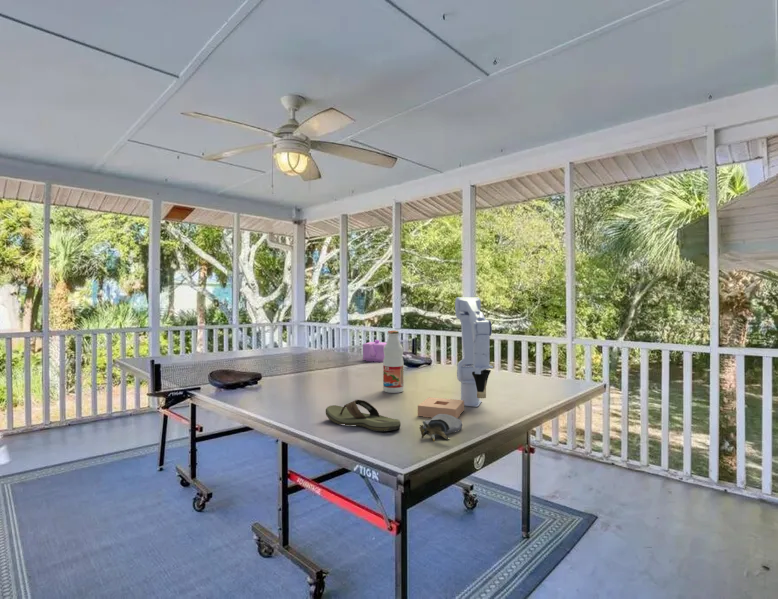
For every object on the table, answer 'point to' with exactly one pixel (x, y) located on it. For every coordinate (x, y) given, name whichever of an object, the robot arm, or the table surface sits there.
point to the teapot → (374, 351)
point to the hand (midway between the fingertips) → (481, 390)
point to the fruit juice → (393, 364)
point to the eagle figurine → (435, 428)
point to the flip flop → (361, 416)
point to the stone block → (448, 422)
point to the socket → (440, 407)
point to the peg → (482, 393)
